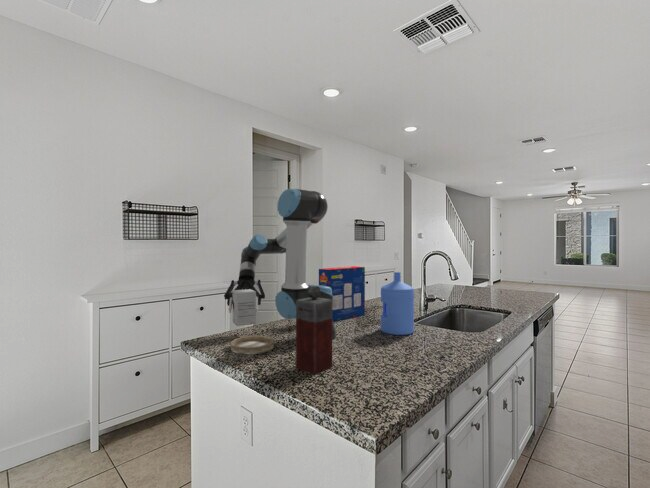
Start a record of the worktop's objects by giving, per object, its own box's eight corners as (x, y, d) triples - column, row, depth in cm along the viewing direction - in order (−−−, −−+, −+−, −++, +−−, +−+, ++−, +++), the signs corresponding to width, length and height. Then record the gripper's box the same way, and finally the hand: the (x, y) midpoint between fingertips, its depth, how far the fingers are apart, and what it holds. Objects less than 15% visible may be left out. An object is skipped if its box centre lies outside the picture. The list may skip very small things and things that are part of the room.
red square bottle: (309, 359, 127) (309, 282, 126) (332, 367, 119) (332, 285, 119) (291, 366, 120) (291, 285, 120) (314, 374, 112) (314, 288, 112)
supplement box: (232, 322, 160) (231, 290, 160) (251, 320, 164) (250, 288, 164) (236, 326, 152) (236, 292, 152) (256, 324, 156) (256, 291, 156)
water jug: (418, 329, 168) (418, 272, 168) (407, 337, 155) (407, 274, 155) (388, 325, 177) (388, 270, 176) (375, 332, 163) (375, 273, 163)
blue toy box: (354, 313, 206) (354, 266, 206) (364, 315, 200) (364, 267, 200) (318, 320, 188) (318, 268, 188) (328, 323, 182) (328, 269, 182)
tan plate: (278, 342, 148) (278, 336, 148) (265, 355, 131) (265, 349, 131) (241, 340, 151) (241, 334, 151) (223, 353, 134) (223, 346, 134)
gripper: (271, 277, 175) (270, 314, 159) (223, 278, 172) (217, 316, 157) (270, 267, 170) (269, 305, 154) (221, 268, 167) (215, 306, 152)
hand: (243, 310), depth 156 cm, fingers closed on supplement box, 11 cm apart
